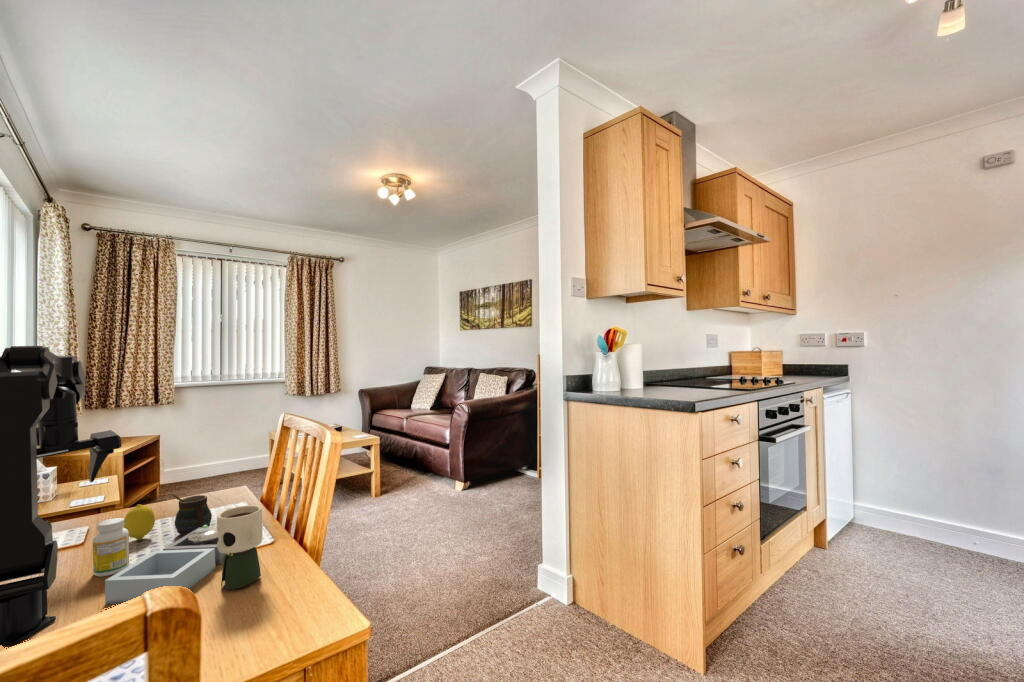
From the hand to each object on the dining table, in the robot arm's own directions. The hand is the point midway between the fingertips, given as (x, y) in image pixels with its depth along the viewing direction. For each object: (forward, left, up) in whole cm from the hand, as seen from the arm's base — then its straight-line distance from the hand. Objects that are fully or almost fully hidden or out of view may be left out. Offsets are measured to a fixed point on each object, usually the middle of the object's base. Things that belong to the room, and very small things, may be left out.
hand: (62, 488), depth 96 cm
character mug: (-14, -44, -15) cm, 48 cm away
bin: (-13, -30, -15) cm, 36 cm away
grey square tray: (0, -30, -15) cm, 33 cm away
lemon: (+9, -9, -15) cm, 19 cm away
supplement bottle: (-6, -15, -15) cm, 22 cm away
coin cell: (0, -30, -12) cm, 32 cm away
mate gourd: (+12, -19, -15) cm, 27 cm away
